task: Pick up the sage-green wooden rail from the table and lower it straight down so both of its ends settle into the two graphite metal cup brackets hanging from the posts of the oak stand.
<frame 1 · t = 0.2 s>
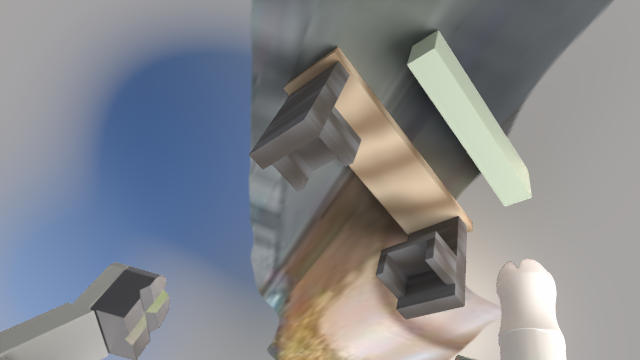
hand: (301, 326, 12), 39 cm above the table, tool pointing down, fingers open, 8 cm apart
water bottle: (523, 270, 61), on the table
rail: (473, 110, 48), on the table
rail stand: (384, 156, 55), on the table
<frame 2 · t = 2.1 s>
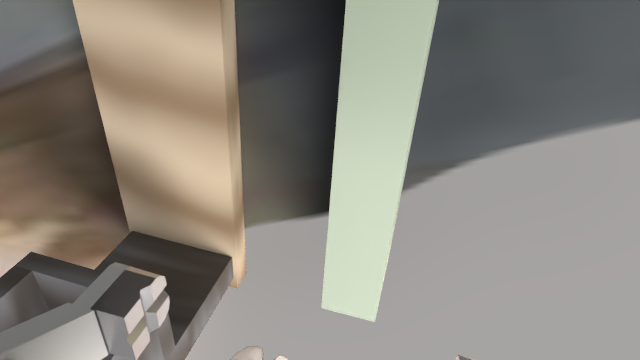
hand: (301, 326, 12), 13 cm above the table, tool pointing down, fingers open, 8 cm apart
rail: (386, 110, 22), on the table
rail stand: (171, 73, 24), on the table
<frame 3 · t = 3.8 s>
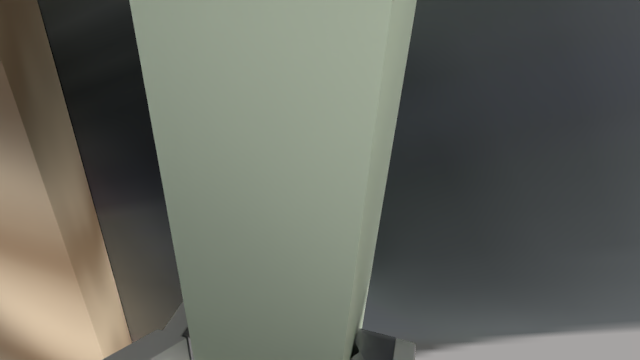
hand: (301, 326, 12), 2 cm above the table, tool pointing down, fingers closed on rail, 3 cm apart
rail: (322, 269, 14), on the table, touching gripper
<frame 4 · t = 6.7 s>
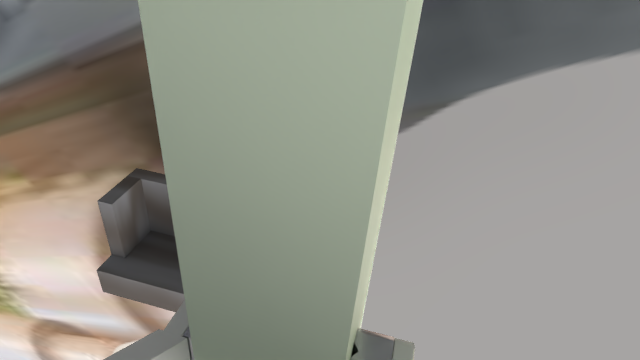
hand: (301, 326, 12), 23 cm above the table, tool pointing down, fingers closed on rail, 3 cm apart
rail: (322, 270, 14), point 20 cm above the table, touching gripper
rail stand: (235, 41, 32), on the table
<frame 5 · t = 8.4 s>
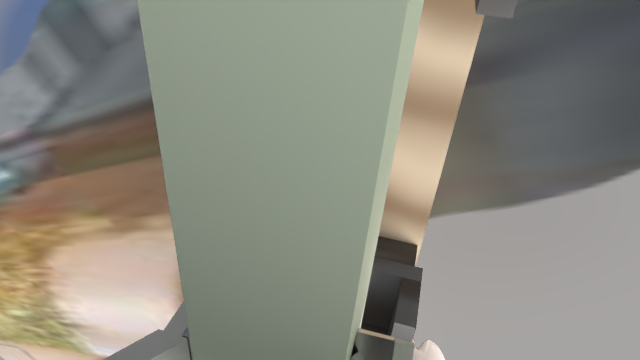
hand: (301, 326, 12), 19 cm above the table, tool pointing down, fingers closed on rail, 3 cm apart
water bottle: (410, 348, 41), on the table
rail: (322, 271, 14), point 17 cm above the table, touching gripper
rail stand: (395, 78, 27), on the table
when the fingers open (13 cm above the table, at t = 9.8 s): rail stays where it is, resting on rail stand.
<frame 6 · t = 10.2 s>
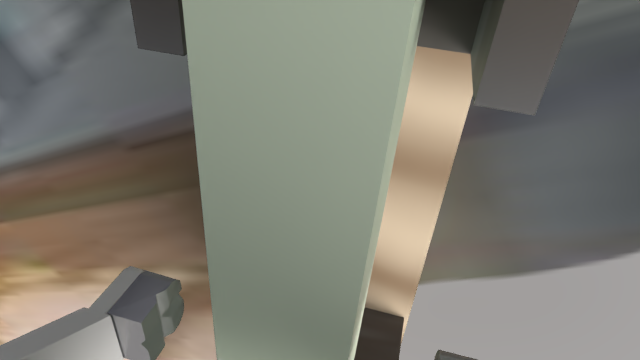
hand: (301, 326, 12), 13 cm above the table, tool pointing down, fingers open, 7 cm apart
rail: (328, 252, 14), point 9 cm above the table, touching rail stand
rail stand: (374, 127, 22), on the table
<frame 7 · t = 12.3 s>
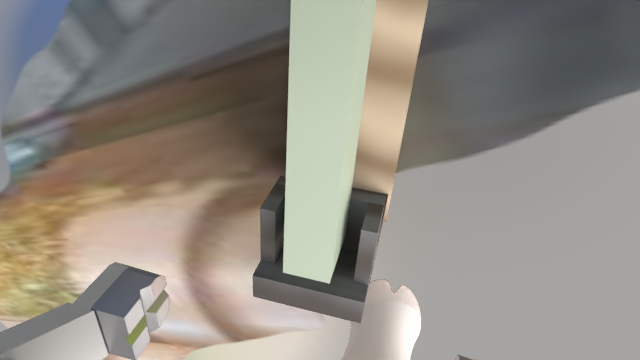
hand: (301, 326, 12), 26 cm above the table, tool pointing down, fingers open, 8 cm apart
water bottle: (388, 295, 46), on the table
rail: (338, 96, 26), point 9 cm above the table, touching rail stand
rail stand: (364, 51, 33), on the table
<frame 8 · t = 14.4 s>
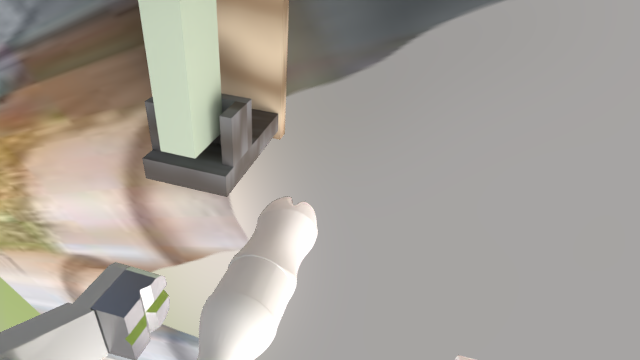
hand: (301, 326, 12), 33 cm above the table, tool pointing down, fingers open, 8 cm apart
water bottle: (295, 213, 54), on the table
rail: (198, 9, 33), point 9 cm above the table, touching rail stand
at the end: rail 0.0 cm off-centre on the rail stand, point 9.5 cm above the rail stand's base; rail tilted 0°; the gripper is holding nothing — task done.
